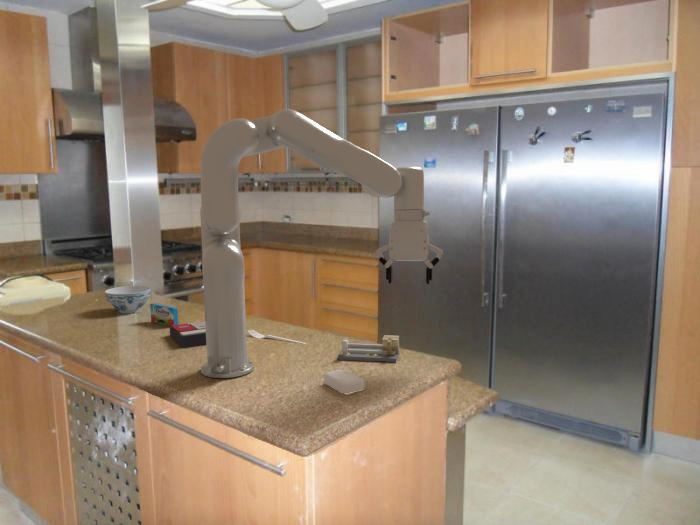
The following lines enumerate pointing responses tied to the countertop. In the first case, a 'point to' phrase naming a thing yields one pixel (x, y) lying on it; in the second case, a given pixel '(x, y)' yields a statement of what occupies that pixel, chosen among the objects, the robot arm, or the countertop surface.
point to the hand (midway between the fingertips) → (409, 282)
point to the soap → (343, 381)
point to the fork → (256, 335)
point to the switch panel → (365, 352)
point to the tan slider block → (390, 344)
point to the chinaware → (128, 297)
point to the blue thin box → (164, 314)
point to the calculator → (189, 334)
